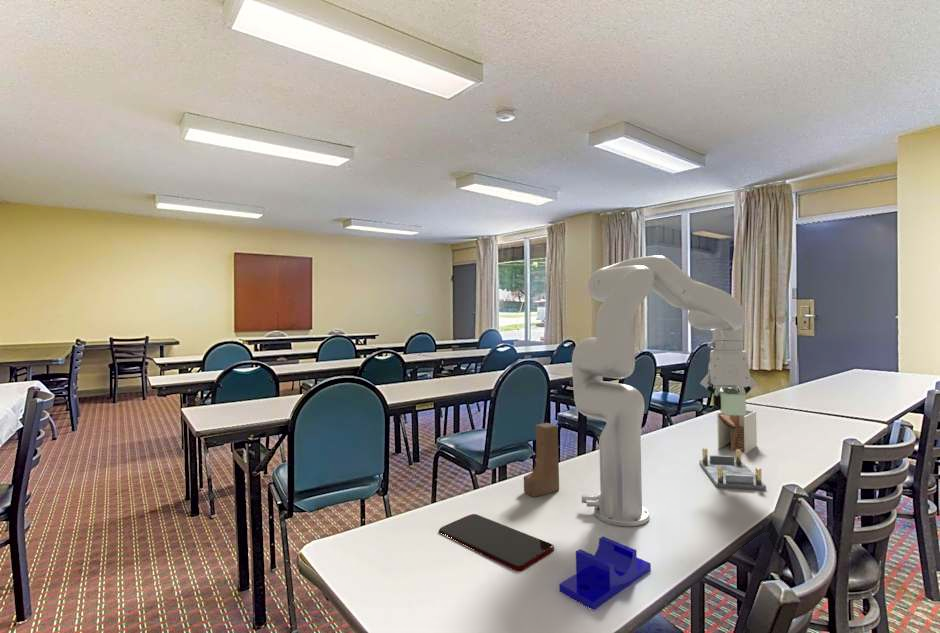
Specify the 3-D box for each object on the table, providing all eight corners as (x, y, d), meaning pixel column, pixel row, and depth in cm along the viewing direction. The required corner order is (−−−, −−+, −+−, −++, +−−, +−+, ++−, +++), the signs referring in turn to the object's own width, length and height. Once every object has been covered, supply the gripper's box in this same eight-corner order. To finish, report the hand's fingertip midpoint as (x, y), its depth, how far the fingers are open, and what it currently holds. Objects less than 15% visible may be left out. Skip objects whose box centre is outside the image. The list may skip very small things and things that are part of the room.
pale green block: (725, 415, 133) (725, 391, 133) (713, 405, 145) (713, 384, 145) (745, 415, 132) (745, 391, 131) (731, 405, 144) (731, 384, 144)
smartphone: (473, 511, 118) (557, 544, 100) (473, 517, 118) (557, 551, 100) (435, 528, 110) (518, 567, 92) (435, 535, 110) (519, 575, 92)
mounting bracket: (617, 557, 97) (617, 528, 97) (650, 572, 91) (650, 541, 91) (559, 593, 85) (558, 560, 85) (593, 613, 80) (592, 577, 80)
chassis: (716, 487, 130) (716, 468, 130) (699, 463, 150) (699, 447, 150) (766, 490, 128) (765, 470, 128) (741, 465, 147) (741, 448, 147)
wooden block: (533, 497, 127) (531, 430, 127) (523, 492, 131) (521, 426, 131) (559, 490, 132) (558, 425, 131) (549, 485, 135) (547, 422, 135)
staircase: (717, 449, 165) (716, 401, 165) (729, 442, 173) (728, 396, 173) (745, 454, 159) (744, 404, 159) (756, 447, 166) (755, 399, 166)
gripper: (698, 347, 136) (700, 411, 137) (765, 347, 132) (766, 412, 133) (692, 345, 144) (694, 405, 144) (755, 344, 140) (757, 406, 140)
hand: (728, 408), depth 138 cm, fingers closed on pale green block, 5 cm apart
